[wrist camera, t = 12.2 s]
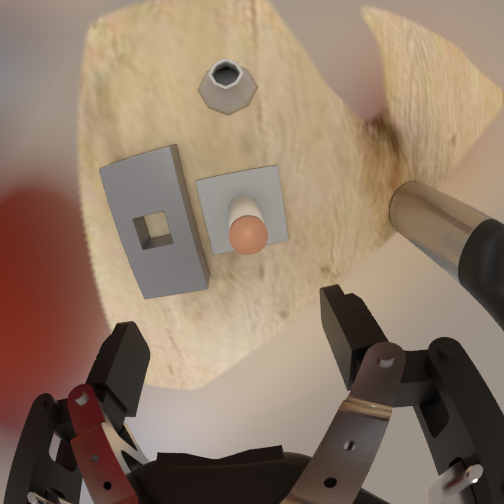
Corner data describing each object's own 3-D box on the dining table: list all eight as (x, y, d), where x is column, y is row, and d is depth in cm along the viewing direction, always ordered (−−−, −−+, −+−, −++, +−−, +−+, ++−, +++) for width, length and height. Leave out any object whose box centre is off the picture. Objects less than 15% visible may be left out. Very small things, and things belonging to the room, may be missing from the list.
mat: (276, 164, 35) (277, 165, 35) (287, 238, 40) (288, 240, 40) (195, 180, 36) (195, 181, 35) (213, 252, 40) (213, 254, 40)
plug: (255, 192, 36) (264, 214, 27) (260, 220, 38) (271, 250, 29) (226, 198, 36) (224, 222, 27) (232, 225, 38) (233, 257, 29)
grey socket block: (176, 143, 33) (169, 146, 30) (209, 274, 42) (207, 289, 38) (110, 164, 33) (98, 168, 30) (150, 285, 42) (144, 299, 38)
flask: (267, 87, 31) (280, 72, 22) (228, 125, 33) (227, 123, 24) (226, 53, 28) (224, 28, 19) (188, 91, 30) (172, 78, 21)
